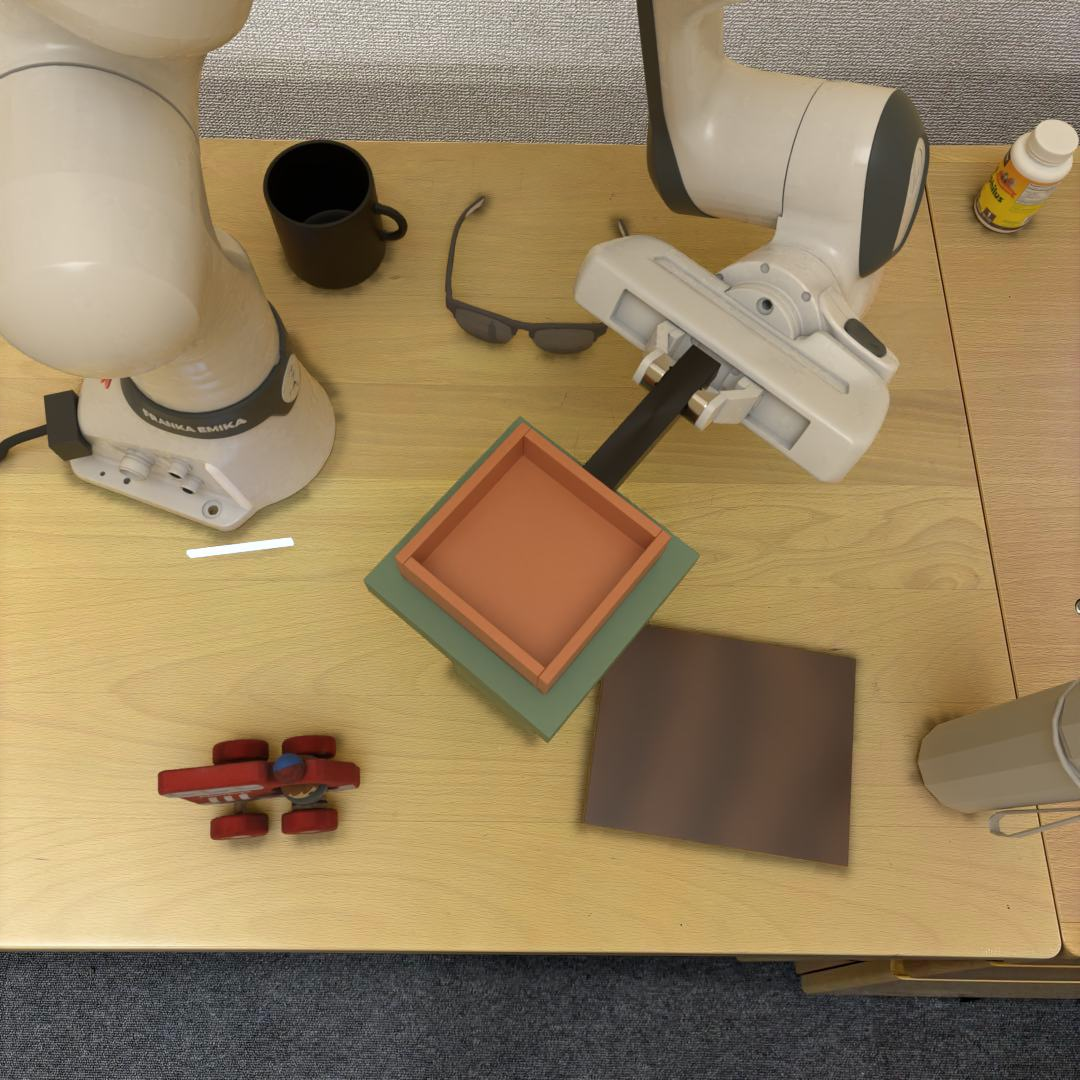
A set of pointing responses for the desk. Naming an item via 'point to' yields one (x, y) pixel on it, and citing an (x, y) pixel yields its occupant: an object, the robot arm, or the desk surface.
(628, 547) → the pan
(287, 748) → the toy fire truck
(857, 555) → the desk surface
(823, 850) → the board
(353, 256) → the mug
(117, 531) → the desk surface
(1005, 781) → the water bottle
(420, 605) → the stand
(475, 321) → the sunglasses
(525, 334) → the desk surface
